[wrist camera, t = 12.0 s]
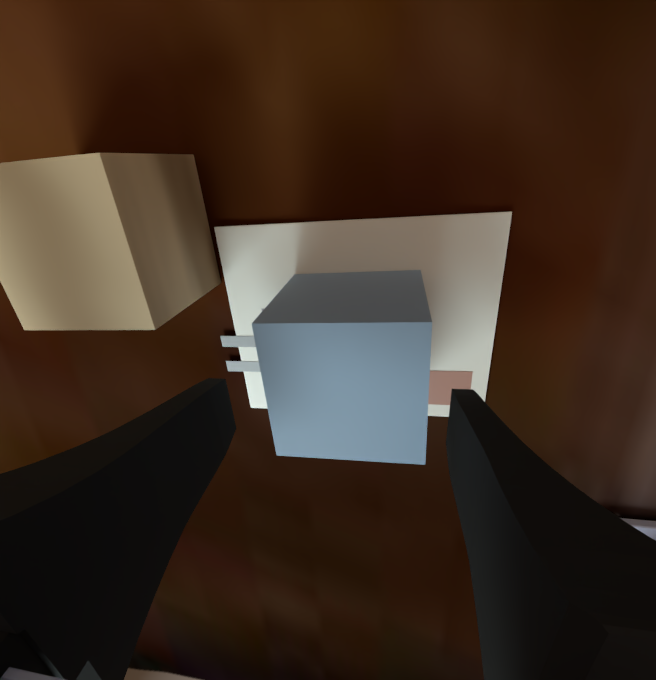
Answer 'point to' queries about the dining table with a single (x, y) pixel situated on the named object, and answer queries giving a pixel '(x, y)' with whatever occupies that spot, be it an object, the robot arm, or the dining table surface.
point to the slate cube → (348, 366)
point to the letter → (379, 255)
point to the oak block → (104, 240)
